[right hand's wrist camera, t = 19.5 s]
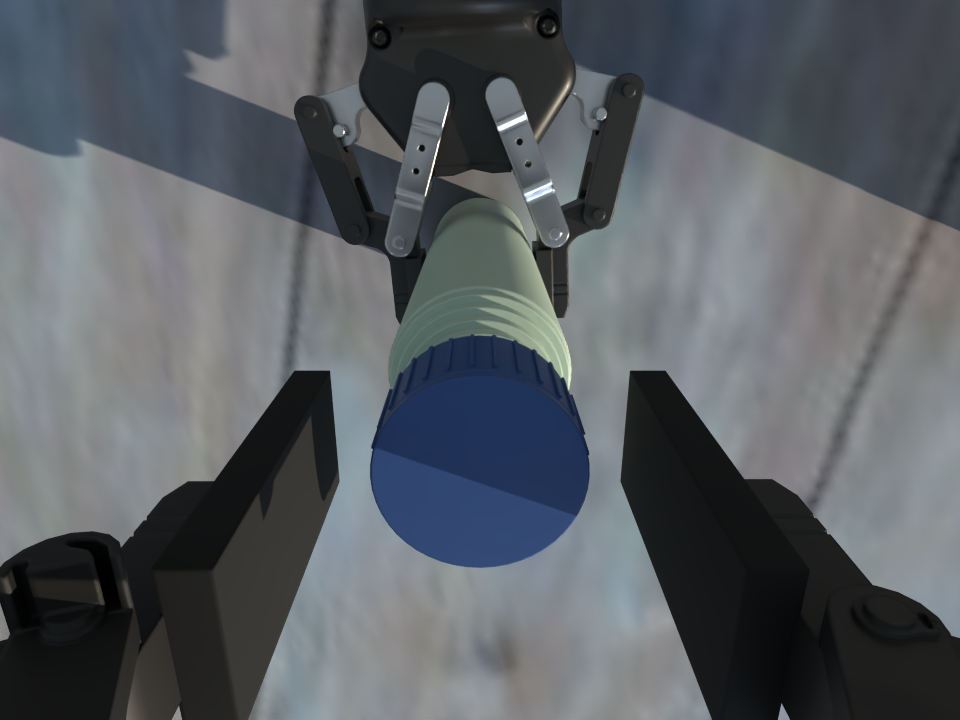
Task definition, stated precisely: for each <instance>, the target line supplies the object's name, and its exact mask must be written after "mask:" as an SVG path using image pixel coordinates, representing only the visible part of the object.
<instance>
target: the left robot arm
mask: <svg viewBox="0 0 960 720" xmlns="http://www.w3.org/2000/svg"><path fill="white" fill-rule="evenodd" d="M363 6H364V15H365V24H366V34H367V53H366V58H365V62H364V65H363V68H362V70H361V72H360V76H359V83H356V84H354V85H351V86H348V87H345V88H342V89H339V90H336V91H333V92H331V93H328V94H325V95H322V96H316V95H310V96H303V97H301V98H300V99H299V100H298V101H297V102H296V104H295V107H294V114H295V118H296V120H297V123H298V125H299V128H300V131H301V133H302V136H303V138H304V141H305V143H306V146H307V149H308V151H309V154H310V156H311V159H312V161H313V164H314V167H315V169H316V172H317V174H318V177H319V179H320V182H321V185H322V187H323V190H324V192H325V195H326V198H327V200H328V203H329V205H330V208H331V210H332V213H333V216H334V218H335V221H336V223H337V226H338V228H339V231H340V234H341V236H342V238H343V239H344V240H345V241H346V242H347V243H349V244H352V245H359V244H364V245H368V246H371V247H374V248H377V249H380V250H381V251H383V252H384V253H385V254H386V255H387V257H388V259H389V261H390V266H391V275H392V285H393V294H394V303H395V312H396V318H397V320H398V322H399V323H400V324H401V322H402V319H403V317H404V314H405V311H406V309H407V306H408V303H409V301H410V298H411V296H412V293H413V290H414V288H415V285H416V282H417V280H418V277H419V274H420V272H421V269H422V267H423V264H424V261H425V259H426V250H425V248H422V249H420V238H419V233H420V229H421V225H422V221H423V217H424V213H425V210H426V206H427V202H428V198H429V195H430V192H431V188H432V184H433V181H434V177H439V176H454V175H456V174H459V173H462V172H465V171H468V170H471V169H475V170H480V171H485V172H489V173H502V172H511V170H513V173H514V175H515V178H516V180H517V183H518V185H519V188H520V190H521V192H522V195H523V197H524V200H525V202H526V205H527V207H528V210H529V212H530V215H531V217H532V220H533V222H534V225H535V228H536V234H537V241H532V254H533V256H534V259H535V262H536V264H537V267H538V270H539V272H540V275H541V278H542V280H543V283H544V285H545V288H546V291H547V293H548V296H549V299H550V301H551V304H552V306H553V309H554V312H555V314H556V317H557V318H564V317H565V315H566V312H567V310H568V307H569V294H568V292H569V285H568V249H569V246H570V244H571V242H572V241H573V240H574V239H575V238H576V237H578V236H579V235H582V234H584V233H586V232H589V231H591V230H593V229H602V228H604V227H606V226H607V225H608V224H609V223H610V222H611V220H612V217H613V213H614V209H615V205H616V201H617V197H618V193H619V189H620V186H621V182H622V178H623V174H624V170H625V166H626V162H627V158H628V154H629V150H630V146H631V142H632V138H633V134H634V130H635V126H636V122H637V118H638V114H639V110H640V106H641V102H642V99H643V95H644V84H643V81H642V80H641V78H640V77H639V76H637V75H636V74H632V73H628V74H623V75H620V76H611V75H606V74H601V73H597V72H592V71H587V70H582V69H577V68H576V67H575V63H574V60H573V58H572V56H571V55H570V53H569V51H568V49H567V47H566V44H565V41H564V38H563V32H562V7H561V0H363ZM570 94H571V95H573V96H574V97H576V98H577V100H578V101H579V104H580V109H581V110H580V118H581V121H582V123H583V124H584V126H586V127H587V128H589V129H593V132H592V136H591V140H590V145H589V149H588V153H587V158H586V162H585V166H584V171H583V175H582V179H581V184H580V188H579V192H578V197H577V199H576V200H574V201H572V202H569V203H567V204H565V205H563V206H560V204H559V202H558V199H557V196H556V194H555V191H554V188H553V184H552V181H551V179H550V176H549V173H548V171H547V168H546V165H545V163H544V160H543V157H542V155H541V152H540V150H539V147H538V144H539V142H540V141H541V139H542V138H543V136H544V134H545V133H546V131H547V130H548V128H549V126H550V125H551V123H552V122H553V120H554V119H555V117H556V115H557V114H558V112H559V111H560V109H561V108H562V106H563V104H564V103H565V101H566V100H567V98H568V96H569V95H570ZM366 108H368V109H369V110H370V111H371V112H372V114H373V115H374V116H375V117H376V118H377V120H378V121H379V122H380V123H381V124H382V126H383V127H384V128H385V129H386V131H387V132H388V133H389V134H390V135H391V137H392V138H393V139H394V140H395V141H396V143H397V144H398V145H399V146H400V148H401V149H402V150H403V151H404V152H405V153H404V158H403V162H402V166H401V170H400V174H399V178H398V182H397V187H396V191H395V199H394V204H393V208H392V212H391V216H387V215H384V214H380V213H377V212H375V211H374V208H373V205H372V203H371V200H370V197H369V194H368V192H367V189H366V186H365V183H364V181H363V178H362V175H361V172H360V170H359V167H358V164H357V162H356V159H355V156H354V153H353V151H352V148H351V145H352V144H354V143H356V142H357V141H358V139H359V138H360V135H361V127H360V116H361V114H362V112H363V111H364V110H365V109H366Z"/></svg>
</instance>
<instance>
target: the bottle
mask: <svg viewBox="0 0 960 720" xmlns="http://www.w3.org/2000/svg"><path fill="white" fill-rule="evenodd" d="M471 334H474V336H477V335H482V336H492V335H496V337H500V338H505V339H508V340H511V341H514V340H516V341H518V343H520V344H522V345H524V346H526V347H528V348H530V349H531V350H533V349H535V350H536V351H537V353H538V354H539V355H540V356H542V357H543V358H544V359H545V360H546V361H548V362H552V363H553V366H554V369H555V370H556V371H557V373H558V374H559V376H560V377H561V378H562V377H564V379H565V381H566V384H567V387H568V390H569V387H570V382H571V359H570V354H569V350H568V346H567V343H566V341H565V338H564V335H563V333H562V330H561V328H560V325H559V322H558V320H557V317H556V314H555V312H554V309H553V306H552V304H551V301H550V299H549V296H548V293H547V291H546V288H545V285H544V283H543V280H542V278H541V275H540V272H539V270H538V267H537V264H536V262H535V259H534V256H533V254H532V251H531V249H530V246H529V243H528V241H527V238H526V235H525V233H524V230H523V228H522V225H521V223H520V221H519V219H518V218H517V216H516V215H515V214H514V213H513V212H512V211H511V210H510V209H509V208H508V207H507V206H505V205H504V204H502V203H500V202H498V201H495V200H492V199H488V198H472V199H468V200H464V201H462V202H460V203H458V204H456V205H455V206H453V207H452V208H451V209H449V210H448V211H447V213H446V214H445V215H444V216H443V218H442V219H441V221H440V223H439V225H438V227H437V230H436V232H435V235H434V238H433V240H432V243H431V246H430V248H429V251H428V253H427V256H426V259H425V261H424V264H423V267H422V269H421V272H420V274H419V277H418V280H417V282H416V285H415V288H414V290H413V293H412V296H411V298H410V301H409V303H408V306H407V309H406V311H405V314H404V317H403V319H402V322H401V324H400V327H399V330H398V332H397V335H396V338H395V340H394V343H393V345H392V349H391V353H390V357H389V368H388V371H389V383H390V388H391V389H392V390H393V388H394V385H395V383H396V380H397V377H398V374H399V373H400V372H403V371H404V370H405V369H406V368H407V367H408V365H409V364H410V363H411V360H412V359H413V358H414V357H415V358H417V357H418V356H419V355H421V354H422V353H424V352H425V351H427V350H428V349H429V347H430V346H433V347H434V346H436V345H438V344H440V343H442V342H445V341H448V340H449V338H453V339H455V338H460V337H465V336H470V335H471Z"/></svg>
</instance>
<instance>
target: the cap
mask: <svg viewBox="0 0 960 720" xmlns="http://www.w3.org/2000/svg"><path fill="white" fill-rule="evenodd" d="M584 435H585V432H584V429H583V426H582V423H581V420H580V417H579V413H578V410H577V407H576V404H575V401H574V398H573V395H570V393H569V390H568V387H567V384H566V381H565V379H564V377H562V378H561V377H560V376H559V374H558V373H557V371H556V370H555V369H554V366H553V363H552V362H548V361H546V360H545V359H544V358H543V357H542V356H540V355H539V354H538V353H537V351H536V350H535V349H533V350H531V349H530V348H528V347H526V346H524V345H522V344H520V343H518V341H516V340H514V341H511V340H508V339H505V338H500V337H496V335H492V336H482V335H477V336H474V334H471V335H470V336H465V337H460V338H455V339H453V338H449V340H448V341H445V342H442V343H440V344H438V345H436V346H434V347H433V346H430V347H429V349H428V350H427V351H425V352H424V353H422V354H421V355H419V356H418V357H417V358H415V357H414V358H413V359H412V360H411V363H410V364H409V365H408V367H407V368H406V369H405V370H404V371H403V372H400V373H399V374H398V377H397V380H396V383H395V385H394V388H393V390H392V389H390V390H389V392H388V395H387V398H386V401H385V404H384V407H383V410H382V413H381V416H380V419H379V422H378V425H377V431H376V434H375V437H374V440H373V443H372V447H371V448H372V449H373V451H372V457H371V464H370V479H371V485H372V491H373V494H374V497H375V501H376V503H377V505H378V508H379V510H380V512H381V514H382V515H383V517H384V518H385V520H386V522H387V523H388V525H389V526H390V527H391V528H392V529H393V530H394V532H395V533H396V534H397V535H398V536H399V537H400V538H402V539H403V540H404V541H405V542H406V543H407V544H409V545H410V546H412V547H413V548H414V549H416V550H417V551H419V552H421V553H423V554H425V555H427V556H429V557H431V558H434V559H436V560H439V561H441V562H445V563H449V564H452V565H457V566H464V567H477V568H484V567H496V566H502V565H508V564H511V563H515V562H518V561H521V560H524V559H526V558H529V557H531V556H533V555H535V554H537V553H539V552H540V551H542V550H544V549H545V548H547V547H548V546H550V545H551V544H552V543H554V542H555V541H556V540H557V539H558V538H559V537H560V536H561V535H563V534H564V533H565V531H566V530H567V529H568V528H569V527H570V525H571V524H572V523H573V521H574V520H575V518H576V516H577V515H578V513H579V511H580V509H581V507H582V505H583V503H584V500H585V497H586V493H587V490H588V484H589V459H588V455H589V450H588V447H587V444H586V441H585V438H584Z"/></svg>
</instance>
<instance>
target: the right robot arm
mask: <svg viewBox="0 0 960 720" xmlns="http://www.w3.org/2000/svg"><path fill="white" fill-rule="evenodd" d="M338 484H339V470H338V459H337V447H336V435H335V424H334V412H333V401H332V389H331V378H330V371H294V372H293V374H292V375H291V376H290V378H289V379H288V381H287V382H286V383H285V385H284V386H283V387H282V389H281V390H280V392H279V393H278V394H277V396H276V397H275V398H274V400H273V401H272V403H271V404H270V405H269V407H268V408H267V409H266V411H265V412H264V414H263V415H262V416H261V418H260V419H259V420H258V422H257V423H256V425H255V426H254V427H253V429H252V430H251V431H250V433H249V434H248V436H247V437H246V438H245V440H244V441H243V442H242V444H241V445H240V447H239V448H238V449H237V451H236V452H235V453H234V455H233V456H232V458H231V459H230V460H229V462H228V463H227V464H226V466H225V467H224V469H223V470H222V471H221V473H220V474H219V475H218V477H217V478H216V480H215V481H188V482H186V483H185V484H183V485H182V486H180V487H179V488H177V489H175V490H174V491H172V492H171V493H169V494H168V495H166V496H165V497H163V498H162V499H161V500H160V502H159V503H158V504H157V505H156V506H155V508H154V509H153V510H152V511H151V512H150V514H149V515H148V516H147V520H146V521H143V522H142V523H141V524H140V526H139V527H138V528H137V529H136V530H135V532H134V536H133V537H130V538H129V539H128V540H127V541H126V542H125V544H124V545H123V546H122V547H120V542H119V541H117V540H116V539H115V538H113V537H112V536H111V535H109V534H104V533H99V532H93V531H91V532H78V533H69V534H65V535H61V536H57V537H54V538H50V539H46V540H44V541H42V542H39V543H37V544H35V545H33V546H30V547H28V548H26V549H24V550H22V551H21V552H19V553H18V554H16V555H15V556H13V557H12V558H10V559H9V560H7V561H6V562H4V563H3V565H2V566H1V567H0V604H1V607H2V610H3V613H4V616H5V619H6V622H7V626H8V629H9V632H10V635H9V638H8V639H6V640H3V641H0V720H172V718H173V716H174V714H175V712H176V710H177V708H178V706H179V707H180V712H181V716H182V720H248V718H249V715H250V713H251V710H252V708H253V705H254V702H255V700H256V697H257V695H258V692H259V689H260V687H261V684H262V682H263V679H264V676H265V674H266V671H267V669H268V666H269V663H270V661H271V658H272V656H273V653H274V650H275V648H276V645H277V643H278V640H279V637H280V635H281V632H282V630H283V627H284V624H285V622H286V619H287V617H288V614H289V611H290V609H291V606H292V604H293V601H294V598H295V596H296V593H297V591H298V588H299V585H300V583H301V580H302V578H303V575H304V572H305V570H306V567H307V565H308V562H309V559H310V557H311V554H312V552H313V549H314V546H315V544H316V541H317V539H318V536H319V533H320V531H321V528H322V526H323V523H324V520H325V518H326V515H327V513H328V510H329V507H330V505H331V502H332V499H333V497H334V494H335V492H336V489H337V486H338ZM621 484H622V486H623V489H624V492H625V494H626V497H627V499H628V502H629V505H630V507H631V510H632V513H633V515H634V518H635V520H636V523H637V526H638V528H639V531H640V533H641V536H642V539H643V541H644V544H645V546H646V549H647V552H648V554H649V557H650V559H651V562H652V565H653V567H654V570H655V572H656V575H657V578H658V580H659V583H660V585H661V588H662V591H663V593H664V596H665V598H666V601H667V604H668V606H669V609H670V611H671V614H672V617H673V619H674V622H675V624H676V627H677V630H678V632H679V635H680V637H681V640H682V643H683V645H684V648H685V650H686V653H687V656H688V658H689V661H690V663H691V666H692V669H693V671H694V674H695V676H696V679H697V682H698V684H699V687H700V689H701V692H702V695H703V697H704V700H705V702H706V705H707V708H708V710H709V713H710V715H711V718H712V720H778V716H779V712H780V707H781V703H782V705H783V707H784V708H785V710H786V712H787V714H788V716H789V718H790V720H960V638H957V637H954V636H951V634H950V632H949V631H948V630H947V628H946V627H945V626H944V624H943V623H942V621H941V620H940V619H939V617H937V616H936V615H935V614H933V613H932V612H931V611H930V610H928V609H927V608H926V607H924V606H923V605H922V604H921V603H919V602H917V601H915V600H913V599H911V598H909V597H907V596H905V595H903V594H901V593H899V592H895V591H892V590H889V589H885V588H882V587H878V586H874V585H872V584H871V583H870V581H869V580H868V579H867V578H866V577H865V575H864V574H863V573H862V572H861V571H860V569H859V568H858V567H857V566H856V565H855V563H854V562H853V561H852V560H851V559H850V557H849V556H848V555H847V554H846V553H845V551H844V550H843V549H842V548H841V547H840V546H839V544H838V543H837V542H836V541H835V540H834V538H833V537H832V536H831V535H830V534H827V530H826V529H825V528H824V526H823V525H822V524H821V523H820V522H819V520H818V519H817V518H814V514H813V513H812V512H811V511H810V510H809V508H808V507H807V506H806V505H805V504H804V502H803V501H802V500H801V499H800V498H799V496H798V495H796V494H795V493H793V492H791V491H790V490H788V489H787V488H785V487H784V486H782V485H780V484H779V483H777V482H776V481H774V480H773V479H744V478H743V477H742V475H741V474H740V473H739V471H738V470H737V469H736V467H735V466H734V464H733V463H732V462H731V460H730V459H729V458H728V456H727V455H726V453H725V452H724V451H723V449H722V448H721V447H720V445H719V444H718V442H717V441H716V440H715V438H714V437H713V436H712V434H711V433H710V431H709V430H708V429H707V427H706V426H705V425H704V423H703V422H702V420H701V419H700V418H699V416H698V415H697V414H696V412H695V411H694V409H693V408H692V407H691V405H690V404H689V403H688V401H687V400H686V398H685V397H684V396H683V394H682V393H681V392H680V390H679V389H678V387H677V386H676V385H675V383H674V382H673V381H672V379H671V378H670V376H669V375H668V374H667V372H666V371H630V378H629V389H628V401H627V412H626V424H625V435H624V447H623V459H622V470H621Z"/></svg>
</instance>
